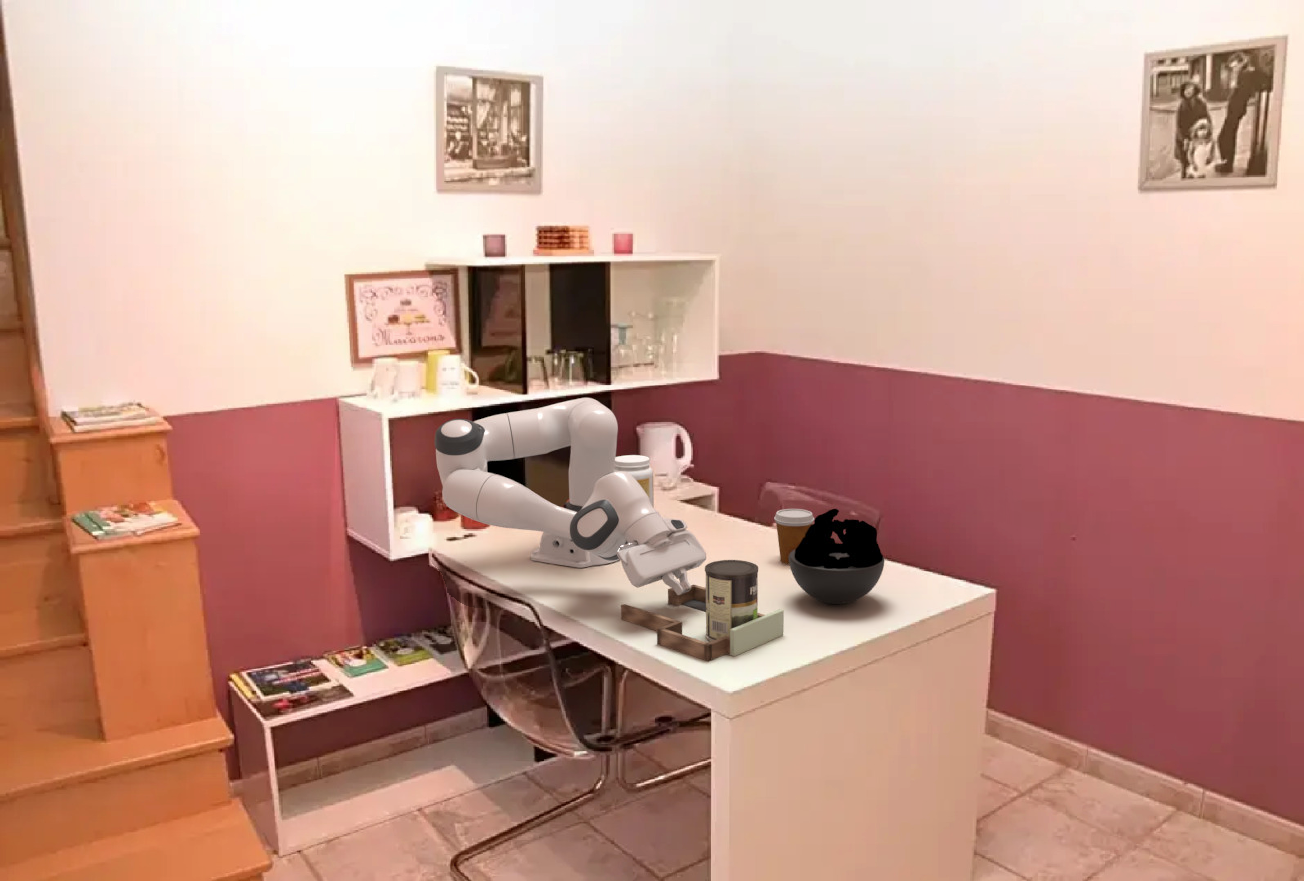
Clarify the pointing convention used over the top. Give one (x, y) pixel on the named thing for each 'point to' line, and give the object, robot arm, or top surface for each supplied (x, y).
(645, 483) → the supplement tub
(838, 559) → the coal bowl
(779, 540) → the disposable coffee cup
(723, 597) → the coffee can
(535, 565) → the top surface
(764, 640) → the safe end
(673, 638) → the trap lane
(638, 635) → the top surface
